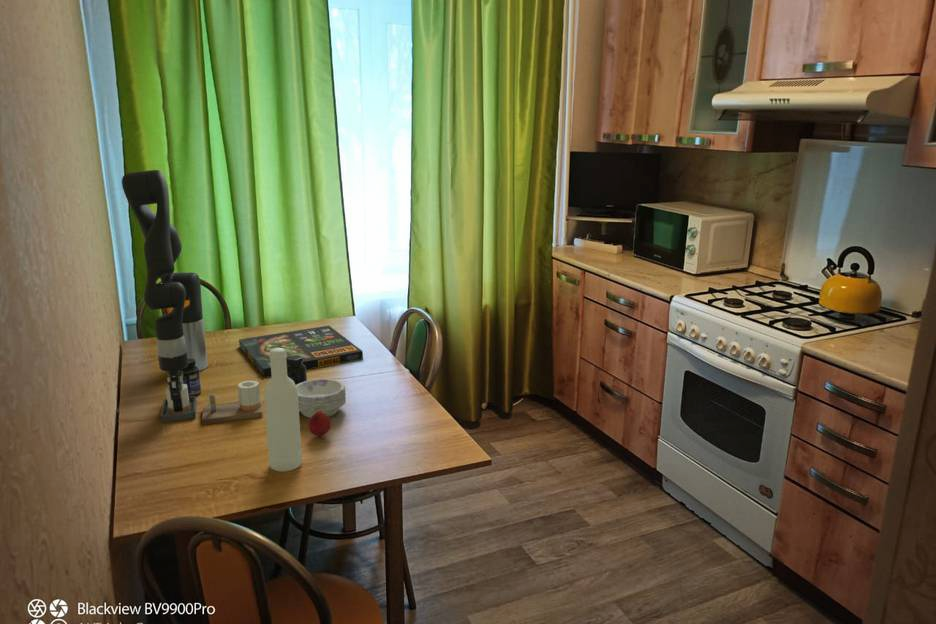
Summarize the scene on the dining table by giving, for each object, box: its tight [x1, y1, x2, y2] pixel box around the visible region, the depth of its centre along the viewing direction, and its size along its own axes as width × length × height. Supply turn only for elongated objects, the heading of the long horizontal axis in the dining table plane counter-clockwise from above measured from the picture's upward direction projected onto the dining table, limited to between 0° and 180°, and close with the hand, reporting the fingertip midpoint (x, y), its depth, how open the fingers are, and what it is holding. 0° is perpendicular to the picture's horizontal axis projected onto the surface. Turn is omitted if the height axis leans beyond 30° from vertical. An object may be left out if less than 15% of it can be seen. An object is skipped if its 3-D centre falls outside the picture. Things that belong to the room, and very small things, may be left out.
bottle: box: [263, 348, 303, 473], centre depth 160 cm, size 8×8×30 cm
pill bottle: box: [181, 358, 202, 397], centre depth 203 cm, size 6×6×11 cm
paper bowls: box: [296, 378, 347, 419], centre depth 192 cm, size 15×15×8 cm
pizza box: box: [238, 325, 364, 378], centre depth 241 cm, size 35×35×4 cm
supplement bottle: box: [286, 355, 308, 385], centre depth 204 cm, size 7×7×12 cm
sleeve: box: [165, 384, 190, 414], centre depth 191 cm, size 6×6×7 cm
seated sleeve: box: [237, 380, 262, 411], centre depth 192 cm, size 6×6×7 cm
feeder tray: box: [160, 396, 198, 424], centre depth 192 cm, size 12×9×2 cm
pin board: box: [201, 393, 263, 426], centre depth 190 cm, size 10×16×6 cm, turn 110°
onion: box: [308, 409, 332, 438], centre depth 177 cm, size 6×6×8 cm
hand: (179, 406), depth 192 cm, fingers closed on sleeve, 5 cm apart
